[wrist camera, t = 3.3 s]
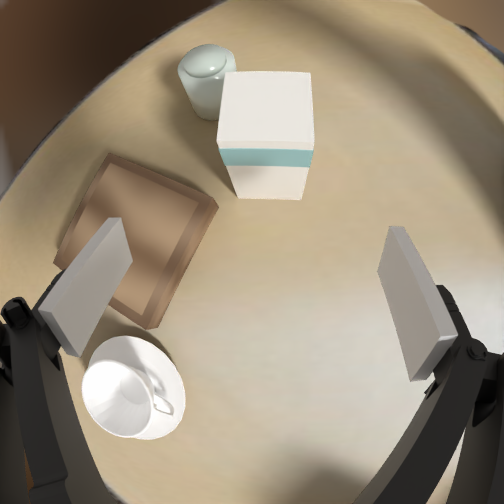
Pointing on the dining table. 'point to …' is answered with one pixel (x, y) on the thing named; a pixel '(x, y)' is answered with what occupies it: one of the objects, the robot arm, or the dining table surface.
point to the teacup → (133, 389)
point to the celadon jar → (206, 78)
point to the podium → (142, 233)
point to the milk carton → (267, 133)
